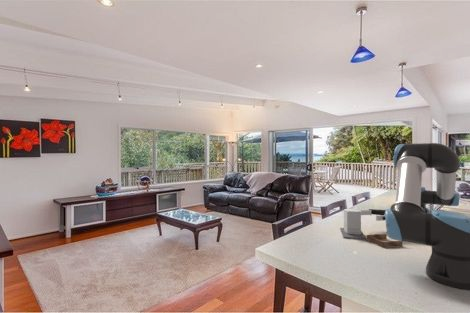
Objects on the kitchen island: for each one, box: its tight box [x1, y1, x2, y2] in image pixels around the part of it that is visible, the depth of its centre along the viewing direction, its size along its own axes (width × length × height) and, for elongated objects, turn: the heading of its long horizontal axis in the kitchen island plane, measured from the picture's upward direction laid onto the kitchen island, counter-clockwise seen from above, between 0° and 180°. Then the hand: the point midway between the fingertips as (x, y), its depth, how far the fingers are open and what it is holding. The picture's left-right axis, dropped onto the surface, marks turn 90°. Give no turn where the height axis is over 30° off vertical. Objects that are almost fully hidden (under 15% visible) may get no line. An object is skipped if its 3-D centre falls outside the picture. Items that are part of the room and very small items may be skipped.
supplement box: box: [343, 208, 362, 235], centre depth 144 cm, size 7×7×13 cm
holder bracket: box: [366, 233, 404, 248], centre depth 129 cm, size 11×12×2 cm
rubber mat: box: [339, 227, 367, 241], centre depth 143 cm, size 18×11×1 cm, turn 163°
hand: (368, 215), depth 145 cm, fingers open, 13 cm apart
